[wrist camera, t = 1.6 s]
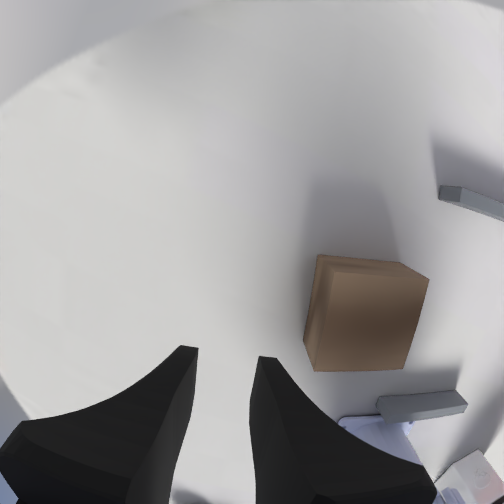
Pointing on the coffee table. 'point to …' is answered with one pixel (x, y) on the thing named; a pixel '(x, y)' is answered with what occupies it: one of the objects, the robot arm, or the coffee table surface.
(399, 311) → the walnut block
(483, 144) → the coffee table surface
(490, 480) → the jar
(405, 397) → the lane
